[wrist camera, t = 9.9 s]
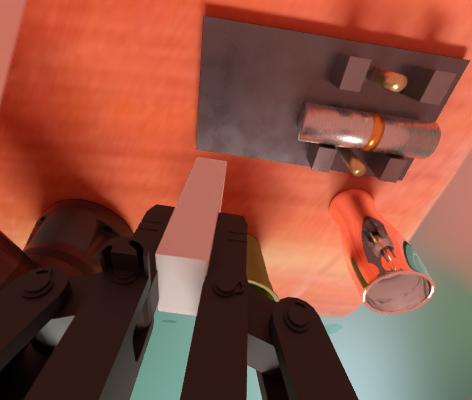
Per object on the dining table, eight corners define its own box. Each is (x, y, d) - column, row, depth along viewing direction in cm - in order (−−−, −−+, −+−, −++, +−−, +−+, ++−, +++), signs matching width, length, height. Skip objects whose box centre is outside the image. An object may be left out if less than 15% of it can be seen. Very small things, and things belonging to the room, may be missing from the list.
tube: (296, 121, 31) (296, 148, 29) (307, 93, 28) (308, 122, 26) (409, 139, 32) (416, 166, 30) (435, 114, 28) (445, 143, 26)
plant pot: (202, 267, 47) (190, 328, 37) (205, 215, 40) (191, 273, 31) (267, 275, 47) (271, 337, 38) (281, 225, 40) (289, 284, 31)
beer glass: (342, 179, 35) (390, 261, 23) (386, 194, 36) (455, 282, 24) (316, 216, 39) (346, 305, 27) (357, 230, 40) (404, 322, 28)
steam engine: (197, 146, 34) (187, 166, 29) (205, 15, 26) (193, 13, 21) (398, 176, 35) (422, 202, 30) (463, 59, 27) (511, 66, 22)
